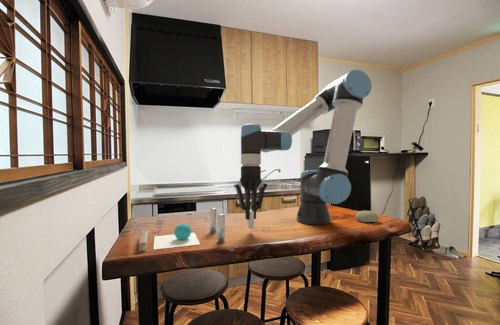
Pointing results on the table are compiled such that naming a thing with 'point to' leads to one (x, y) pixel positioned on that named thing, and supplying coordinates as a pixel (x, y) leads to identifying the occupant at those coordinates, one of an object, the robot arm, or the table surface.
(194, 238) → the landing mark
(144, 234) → the wall
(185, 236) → the ball
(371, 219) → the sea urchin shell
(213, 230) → the post
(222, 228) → the post
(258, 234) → the table surface
